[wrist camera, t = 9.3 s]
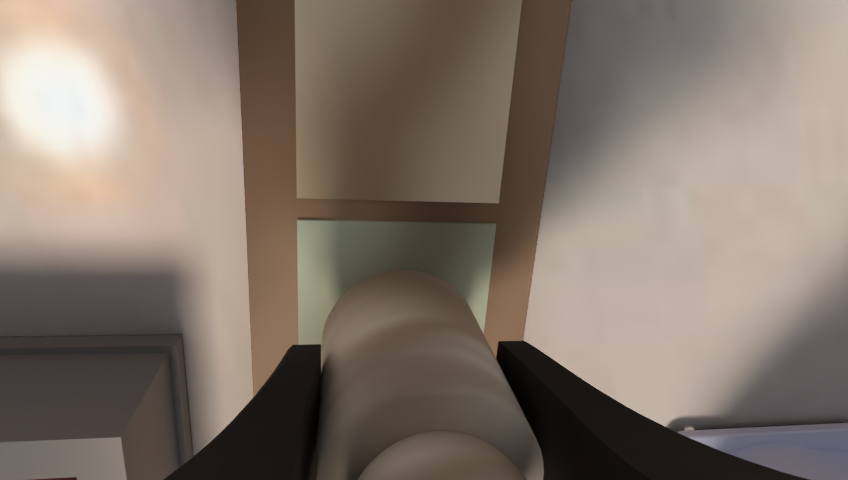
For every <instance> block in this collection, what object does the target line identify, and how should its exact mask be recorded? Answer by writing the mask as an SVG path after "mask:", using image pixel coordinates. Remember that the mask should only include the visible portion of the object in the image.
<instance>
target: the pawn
mask: <svg viewBox="0 0 848 480" xmlns="http://www.w3.org/2000/svg"><path fill="white" fill-rule="evenodd" d="M543 476H544V466H543V457H542V453H541V449H540V446H539V444H538V442H537V439H536V437H535V435H534V433H533V431H532V429H531V427H530V425H529V423H528V421H527V419H526V417H525V415H524V413H523V411H522V409H521V407H520V405H519V403H518V401H517V399H516V397H515V395H514V393H513V391H512V390H511V388H510V386H509V384H508V382H507V380H506V378H505V376H504V374H503V372H502V370H501V368H500V366H499V364H498V362H497V360H496V358H495V356H494V354H493V352H492V350H491V348H490V346H489V344H488V342H487V340H486V338H485V336H484V334H483V332H482V330H481V328H480V326H479V324H478V322H477V320H476V318H475V316H474V314H473V312H472V310H471V308H470V306H469V305H468V303H467V301H466V300H465V298H464V297H463V296H462V295H461V294H460V292H459V291H458V290H457V289H455V288H454V287H453V286H452V285H451V284H449V283H448V282H446V281H444V280H443V279H441V278H438V277H436V276H434V275H431V274H428V273H424V272H419V271H412V270H397V271H390V272H384V273H381V274H377V275H374V276H372V277H369V278H367V279H365V280H363V281H361V282H360V283H358V284H356V285H355V286H353V287H352V288H351V289H349V290H348V291H347V292H346V293H345V294H344V295H343V296H342V297H341V298H340V299H339V300H338V301H337V303H336V304H335V305H334V307H333V308H332V310H331V312H330V314H329V315H328V318H327V320H326V323H325V326H324V330H323V336H322V350H321V381H320V399H319V408H318V422H317V438H316V456H315V473H314V480H543Z"/></svg>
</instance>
